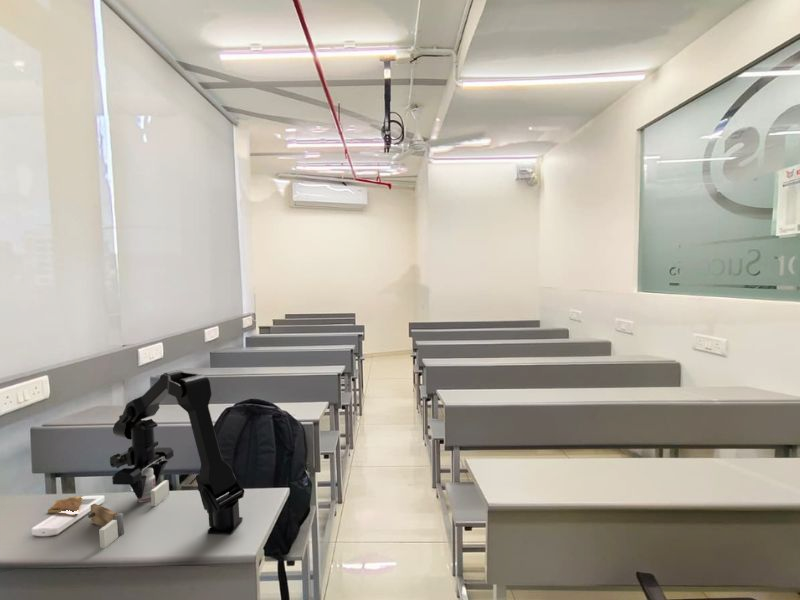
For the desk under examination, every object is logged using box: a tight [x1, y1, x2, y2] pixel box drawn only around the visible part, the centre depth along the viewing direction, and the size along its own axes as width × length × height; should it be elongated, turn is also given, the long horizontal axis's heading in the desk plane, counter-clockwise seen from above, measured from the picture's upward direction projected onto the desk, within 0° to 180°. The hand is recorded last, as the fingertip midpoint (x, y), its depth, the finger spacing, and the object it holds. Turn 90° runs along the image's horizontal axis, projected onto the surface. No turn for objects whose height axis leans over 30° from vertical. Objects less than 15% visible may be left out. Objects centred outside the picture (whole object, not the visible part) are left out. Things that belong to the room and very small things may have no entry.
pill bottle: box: [136, 468, 157, 503], centre depth 123 cm, size 5×5×8 cm
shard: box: [47, 496, 84, 514], centre depth 118 cm, size 11×8×2 cm
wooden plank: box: [87, 503, 118, 528], centre depth 108 cm, size 10×2×5 cm, turn 63°
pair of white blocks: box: [98, 479, 170, 549], centre depth 112 cm, size 2×24×5 cm, turn 175°
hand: (146, 492), depth 123 cm, fingers open, 6 cm apart
